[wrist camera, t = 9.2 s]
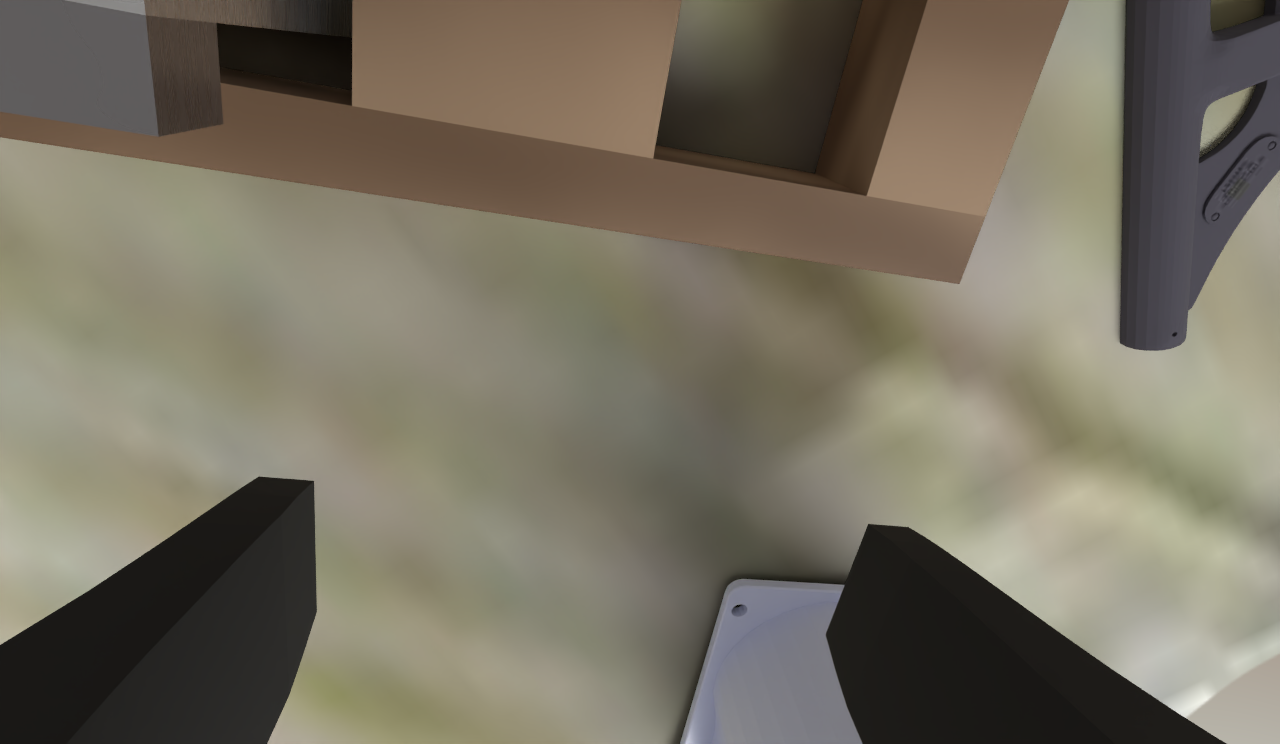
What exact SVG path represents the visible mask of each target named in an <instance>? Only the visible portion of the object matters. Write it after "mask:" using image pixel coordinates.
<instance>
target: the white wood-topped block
mask: <svg viewBox="0 0 1280 744" xmlns="http://www.w3.org/2000/svg"><path fill="white" fill-rule="evenodd" d="M216 23H222V24H231V25H240V26H249V27H259V28H268V29H277V30H287V31H296V32H305V33H315V34H324V35H333V36H343V37H352V0H0V112H5V113H12V114H18V115H24V116H31V117H37V118H43V119H50V120H56V121H62V122H68V123H75V124H81V125H87V126H94V127H100V128H106V129H113V130H119V131H125V132H132V133H138V134H144V135H150V136H157V137H160V136H165V135H170V134H175V133H181V132H186V131H191V130H196V129H201V128H206V127H211V126H216V125H221V124H223V112H222V97H221V83H220V68H219V54H218V40H217V25H216Z"/></svg>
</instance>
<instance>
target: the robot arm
mask: <svg viewBox="0 0 1280 744" xmlns="http://www.w3.org/2000/svg"><path fill="white" fill-rule="evenodd" d="M740 604H742V605H741V606H740V607H736V608H733V607H734V606H736V605H740ZM316 612H317V604H316V557H315V510H314V481H308V480H295V479H282V478H269V477H258V478H256V479H254V480H253V481H251V482H250V483H248V484H247V485H245V486H244V487H242V488H241V489H239V490H238V491H236V492H235V493H233V494H232V495H230V496H229V497H227V498H226V499H224V500H223V501H222V502H220V503H219V504H217V505H216V506H214V507H213V508H211V509H210V510H208V511H207V512H206V513H204V514H203V515H201V516H200V517H198V518H197V519H195V520H194V521H192V522H191V523H190V524H188V525H187V526H185V527H184V528H182V529H181V530H179V531H178V532H176V533H175V534H173V535H172V536H171V537H169V538H168V539H166V540H165V541H163V542H162V543H160V544H159V545H157V546H156V547H154V548H153V549H151V550H150V551H148V552H147V553H145V554H144V555H142V556H141V557H139V558H138V559H136V560H135V561H133V562H132V563H130V564H129V565H127V566H126V567H124V568H123V569H121V570H119V571H118V572H116V573H115V574H113V575H112V576H110V577H109V578H107V579H106V580H104V581H103V582H101V583H100V584H98V585H97V586H95V587H94V588H92V589H91V590H89V591H88V592H86V593H84V594H83V595H81V596H79V597H78V598H76V599H75V600H73V601H71V602H70V603H68V604H66V605H65V606H63V607H62V608H60V609H58V610H57V611H55V612H53V613H52V614H50V615H48V616H47V617H45V618H44V619H42V620H40V621H39V622H37V623H35V624H34V625H32V626H30V627H29V628H27V629H26V630H24V631H22V632H21V633H19V634H17V635H16V636H14V637H13V638H11V639H9V640H8V641H6V642H4V643H3V644H1V645H0V744H267V742H268V740H269V738H270V736H271V734H272V732H273V729H274V727H275V725H276V723H277V721H278V718H279V716H280V714H281V712H282V710H283V707H284V705H285V703H286V701H287V699H288V696H289V694H290V691H291V688H292V685H293V682H294V679H295V677H296V674H297V671H298V668H299V665H300V662H301V659H302V656H303V653H304V650H305V647H306V644H307V640H308V637H309V634H310V631H311V628H312V625H313V622H314V619H315V616H316ZM680 744H1226V743H1224V742H1223V741H1221V740H1219V739H1218V738H1216V737H1214V736H1213V735H1211V734H1210V733H1208V732H1207V731H1205V730H1203V729H1202V728H1200V727H1199V726H1197V725H1195V724H1194V723H1192V722H1191V721H1189V720H1188V719H1186V718H1184V717H1183V716H1181V715H1180V714H1178V713H1177V712H1175V711H1174V710H1172V709H1171V708H1169V707H1168V706H1166V705H1165V704H1163V703H1162V702H1160V701H1159V700H1157V699H1156V698H1154V697H1153V696H1151V695H1150V694H1148V693H1147V692H1145V691H1144V690H1142V689H1141V688H1139V687H1138V686H1136V685H1135V684H1133V683H1132V682H1130V681H1129V680H1127V679H1126V678H1124V677H1123V676H1121V675H1120V674H1118V673H1117V672H1115V671H1114V670H1112V669H1111V668H1109V667H1108V666H1106V665H1105V664H1103V663H1102V662H1101V661H1099V660H1098V659H1096V658H1095V657H1093V656H1092V655H1090V654H1089V653H1088V652H1086V651H1085V650H1083V649H1082V648H1080V647H1079V646H1078V645H1076V644H1075V643H1073V642H1072V641H1070V640H1069V639H1068V638H1066V637H1065V636H1063V635H1062V634H1061V633H1059V632H1058V631H1056V630H1055V629H1054V628H1052V627H1051V626H1049V625H1048V624H1047V623H1045V622H1044V621H1042V620H1041V619H1040V618H1038V617H1037V616H1036V615H1034V614H1033V613H1031V612H1030V611H1029V610H1027V609H1026V608H1024V607H1023V606H1022V605H1020V604H1019V603H1018V602H1016V601H1015V600H1013V599H1012V598H1011V597H1009V596H1008V595H1007V594H1005V593H1004V592H1002V591H1001V590H1000V589H998V588H997V587H995V586H994V585H993V584H991V583H990V582H989V581H987V580H986V579H984V578H983V577H982V576H980V575H979V574H978V573H976V572H975V571H973V570H972V569H971V568H969V567H968V566H966V565H965V564H964V563H962V562H961V561H959V560H958V559H956V558H955V557H954V556H952V555H951V554H949V553H948V552H946V551H945V550H943V549H942V548H940V547H939V546H938V545H936V544H935V543H933V542H931V541H930V540H928V539H927V538H925V537H924V536H922V535H920V534H919V533H917V532H915V531H914V530H912V529H910V528H909V527H898V526H886V525H873V524H868V526H867V529H866V531H865V534H864V537H863V539H862V542H861V544H860V547H859V549H858V552H857V555H856V557H855V560H854V562H853V565H852V568H851V570H850V573H849V575H848V578H847V580H846V583H845V585H839V584H822V583H805V582H788V581H772V580H755V579H738V580H736V581H733V582H732V583H730V584H729V585H728V587H727V588H726V590H725V594H724V597H723V600H722V604H721V607H720V610H719V614H718V617H717V621H716V624H715V627H714V631H713V634H712V637H711V641H710V644H709V648H708V651H707V654H706V658H705V661H704V664H703V668H702V671H701V674H700V678H699V681H698V685H697V688H696V691H695V695H694V698H693V701H692V705H691V708H690V712H689V715H688V718H687V722H686V725H685V728H684V732H683V735H682V739H681V742H680Z"/></svg>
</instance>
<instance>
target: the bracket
mask: <svg viewBox="0 0 1280 744" xmlns="http://www.w3.org/2000/svg"><path fill="white" fill-rule="evenodd" d="M1210 4H1211V0H1126V48H1125V101H1124V155H1123V208H1122V262H1121V315H1120V343H1121V344H1123V345H1125V346H1126V347H1130V348H1133V349H1139V350H1155V351H1157V350H1166V349H1171V348H1174V347H1177V346H1179V345H1181V344H1182V343H1183V342H1184V341H1185V339H1186V331H1187V318H1188V310H1189V309H1191V308H1192V306H1193V305H1194V303H1195V301H1196V299H1197V297H1198V295H1199V293H1200V291H1201V289H1202V287H1203V285H1204V283H1205V281H1206V279H1207V277H1208V275H1209V273H1210V271H1211V270H1212V268H1213V266H1214V264H1215V262H1216V260H1217V259H1218V257H1219V255H1220V253H1221V252H1222V250H1223V248H1224V246H1225V245H1226V243H1227V242H1228V240H1229V238H1230V237H1231V235H1232V233H1233V232H1234V230H1235V229H1236V227H1237V226H1238V224H1239V223H1240V221H1241V220H1242V218H1243V217H1244V215H1245V214H1246V213H1247V211H1248V210H1249V208H1250V207H1251V206H1252V204H1253V203H1254V202H1255V200H1256V199H1257V197H1258V196H1259V195H1260V194H1261V192H1262V191H1263V190H1264V188H1265V187H1266V186H1267V185H1268V183H1269V182H1270V181H1271V180H1272V178H1273V177H1274V176H1275V175H1276V174H1277V172H1278V171H1279V170H1280V0H1265V6H1264V15H1263V16H1261V17H1259V18H1256V19H1253V20H1250V21H1247V22H1244V23H1241V24H1238V25H1235V26H1232V27H1229V28H1225V29H1222V30H1218V31H1214V32H1212V31H1211V24H1210ZM1255 84H1256V88H1255V91H1254V94H1253V96H1252V98H1251V101H1250V103H1249V105H1248V107H1247V109H1246V111H1245V113H1244V114H1243V116H1242V118H1241V119H1240V121H1239V122H1238V123H1237V125H1236V126H1235V127H1234V129H1233V130H1232V131H1231V132H1230V134H1229V135H1228V136H1227V137H1226V138H1225V139H1224V140H1223V141H1222V142H1221V143H1220V144H1219V145H1217V146H1216V147H1215V148H1214V149H1212V150H1211V151H1210V152H1208V153H1207V154H1205V155H1204V156H1202V157H1200V158H1199V153H1200V141H1201V131H1202V124H1203V117H1204V114H1205V111H1206V109H1207V107H1208V106H1209V105H1210V104H1211V103H1212V102H1214V101H1216V100H1218V99H1220V98H1223V97H1225V96H1228V95H1230V94H1233V93H1235V92H1238V91H1240V90H1243V89H1245V88H1248V87H1250V86H1253V85H1255Z"/></svg>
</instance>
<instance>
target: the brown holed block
mask: <svg viewBox="0 0 1280 744" xmlns="http://www.w3.org/2000/svg"><path fill="white" fill-rule="evenodd" d="M1068 1H1069V0H863V2H862V5H861V9H860V13H859V16H858V20H857V23H856V27H855V31H854V34H853V38H852V41H851V45H850V49H849V52H848V56H847V60H846V63H845V67H844V70H843V74H842V78H841V81H840V85H839V88H838V92H837V96H836V99H835V103H834V107H833V110H832V114H831V117H830V121H829V125H828V128H827V132H826V135H825V139H824V143H823V146H822V150H821V154H820V157H819V161H818V164H817V168H816V172H815V173H809V172H804V171H798V170H793V169H787V168H781V167H776V166H770V165H765V164H759V163H754V162H748V161H742V160H737V159H731V158H726V157H720V156H714V155H709V154H703V153H698V152H692V151H686V150H681V149H675V148H670V147H664V146H658V145H656V139H657V134H658V128H659V123H660V117H661V111H662V106H663V100H664V95H665V89H666V84H667V78H668V73H669V67H670V61H671V56H672V50H673V45H674V39H675V34H676V28H677V23H678V17H679V11H680V6H681V0H352V91H351V90H345V89H340V88H334V87H329V86H323V85H317V84H312V83H306V82H301V81H295V80H289V79H284V78H278V77H273V76H267V75H261V74H256V73H250V72H245V71H239V70H233V69H228V68H222V67H219V68H220V83H221V97H222V112H223V124H221V125H216V126H211V127H206V128H201V129H196V130H191V131H186V132H181V133H175V134H170V135H165V136H160V137H157V136H150V135H144V134H138V133H132V132H125V131H119V130H113V129H106V128H100V127H94V126H87V125H81V124H75V123H68V122H62V121H56V120H50V119H43V118H37V117H31V116H24V115H18V114H12V113H5V112H0V137H3V138H9V139H16V140H22V141H29V142H35V143H42V144H48V145H55V146H61V147H68V148H74V149H81V150H87V151H94V152H101V153H107V154H114V155H120V156H127V157H133V158H140V159H146V160H153V161H159V162H166V163H172V164H179V165H185V166H192V167H199V168H205V169H212V170H218V171H225V172H231V173H238V174H244V175H251V176H257V177H264V178H270V179H277V180H283V181H290V182H297V183H303V184H310V185H316V186H323V187H329V188H336V189H342V190H349V191H355V192H362V193H368V194H375V195H381V196H388V197H395V198H401V199H408V200H414V201H421V202H427V203H434V204H440V205H447V206H453V207H460V208H466V209H473V210H479V211H486V212H493V213H499V214H506V215H512V216H519V217H525V218H532V219H538V220H545V221H551V222H558V223H564V224H571V225H577V226H584V227H591V228H597V229H604V230H610V231H617V232H623V233H630V234H636V235H643V236H649V237H656V238H662V239H669V240H675V241H682V242H689V243H695V244H702V245H708V246H715V247H721V248H728V249H734V250H741V251H747V252H754V253H760V254H767V255H773V256H780V257H786V258H793V259H800V260H806V261H813V262H819V263H826V264H832V265H839V266H845V267H852V268H858V269H865V270H871V271H878V272H884V273H891V274H898V275H904V276H911V277H917V278H924V279H930V280H937V281H943V282H950V283H956V284H959V283H960V281H961V278H962V276H963V273H964V271H965V268H966V265H967V263H968V260H969V258H970V255H971V252H972V250H973V247H974V245H975V242H976V239H977V237H978V234H979V232H980V229H981V227H982V224H983V221H984V219H985V216H986V214H987V211H988V208H989V206H990V203H991V201H992V198H993V195H994V193H995V190H996V188H997V185H998V183H999V180H1000V177H1001V175H1002V172H1003V170H1004V167H1005V164H1006V162H1007V159H1008V157H1009V154H1010V151H1011V149H1012V146H1013V144H1014V141H1015V139H1016V136H1017V133H1018V131H1019V128H1020V126H1021V123H1022V120H1023V118H1024V115H1025V113H1026V110H1027V107H1028V105H1029V102H1030V100H1031V97H1032V95H1033V92H1034V89H1035V87H1036V84H1037V82H1038V79H1039V76H1040V74H1041V71H1042V69H1043V66H1044V63H1045V61H1046V58H1047V56H1048V53H1049V51H1050V48H1051V45H1052V43H1053V40H1054V38H1055V35H1056V32H1057V30H1058V27H1059V25H1060V22H1061V19H1062V17H1063V14H1064V12H1065V9H1066V7H1067V4H1068Z"/></svg>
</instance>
